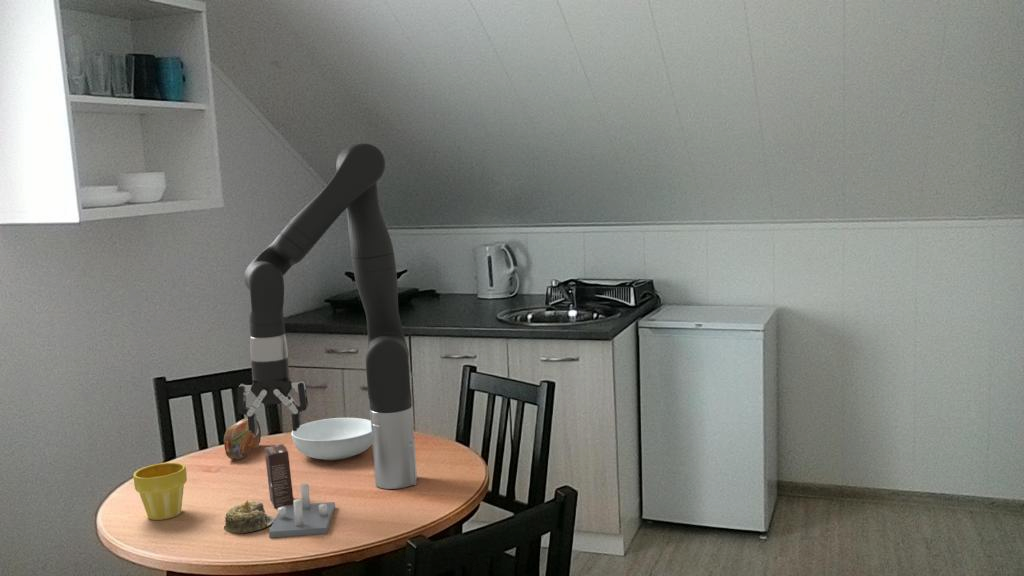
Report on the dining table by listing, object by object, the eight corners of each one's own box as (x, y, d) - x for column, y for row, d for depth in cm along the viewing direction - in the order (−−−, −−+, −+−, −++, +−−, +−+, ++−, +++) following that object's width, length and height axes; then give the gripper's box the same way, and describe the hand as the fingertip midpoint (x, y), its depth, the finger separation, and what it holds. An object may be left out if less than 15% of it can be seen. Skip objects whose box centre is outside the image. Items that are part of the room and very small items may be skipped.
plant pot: (132, 514, 197) (127, 469, 196) (181, 501, 203) (177, 458, 202) (145, 528, 189) (140, 481, 187) (196, 515, 194) (192, 469, 193)
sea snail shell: (227, 541, 182) (222, 515, 181) (221, 525, 191) (216, 500, 190) (278, 527, 185) (274, 502, 185) (270, 512, 194) (265, 487, 194)
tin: (235, 463, 228) (232, 430, 227) (223, 463, 229) (220, 430, 228) (263, 445, 243) (260, 413, 242) (252, 444, 243) (249, 413, 242)
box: (268, 500, 201) (263, 446, 199) (289, 496, 203) (285, 443, 201) (272, 509, 196) (268, 454, 194) (294, 505, 197) (290, 450, 196)
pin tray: (335, 507, 195) (332, 478, 194) (326, 533, 181) (324, 503, 180) (281, 511, 194) (279, 482, 193) (269, 537, 180) (266, 507, 180)
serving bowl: (371, 466, 221) (369, 438, 220) (284, 470, 221) (281, 442, 220) (384, 440, 241) (382, 415, 241) (304, 444, 242) (302, 418, 241)
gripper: (306, 351, 199) (311, 424, 201) (238, 354, 198) (244, 428, 200) (300, 358, 192) (306, 434, 194) (230, 361, 191) (236, 438, 193)
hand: (275, 431), depth 197 cm, fingers open, 8 cm apart
